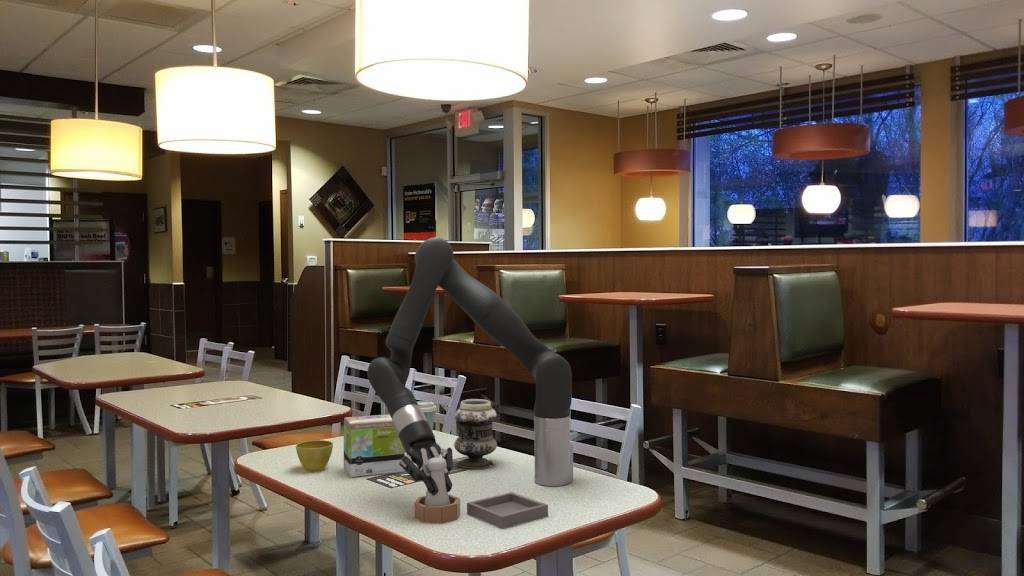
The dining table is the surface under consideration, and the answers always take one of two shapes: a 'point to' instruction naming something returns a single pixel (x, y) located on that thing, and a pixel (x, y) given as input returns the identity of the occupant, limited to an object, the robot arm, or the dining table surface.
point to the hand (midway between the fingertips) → (442, 491)
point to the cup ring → (437, 511)
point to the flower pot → (314, 454)
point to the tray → (507, 509)
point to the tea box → (371, 446)
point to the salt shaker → (437, 483)
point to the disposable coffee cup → (428, 411)
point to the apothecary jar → (475, 433)
